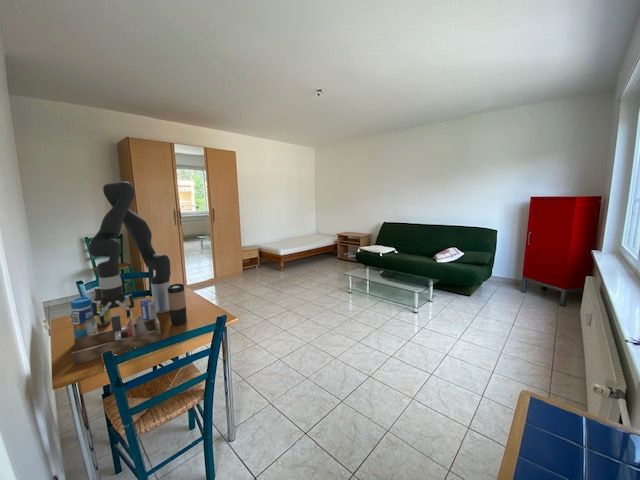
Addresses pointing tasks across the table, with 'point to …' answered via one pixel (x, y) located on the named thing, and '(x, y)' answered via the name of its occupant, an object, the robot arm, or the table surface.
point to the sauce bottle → (99, 308)
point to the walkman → (148, 309)
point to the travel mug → (177, 304)
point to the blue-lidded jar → (83, 317)
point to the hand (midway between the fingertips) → (116, 320)
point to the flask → (140, 326)
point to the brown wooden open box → (115, 345)
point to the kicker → (117, 327)
